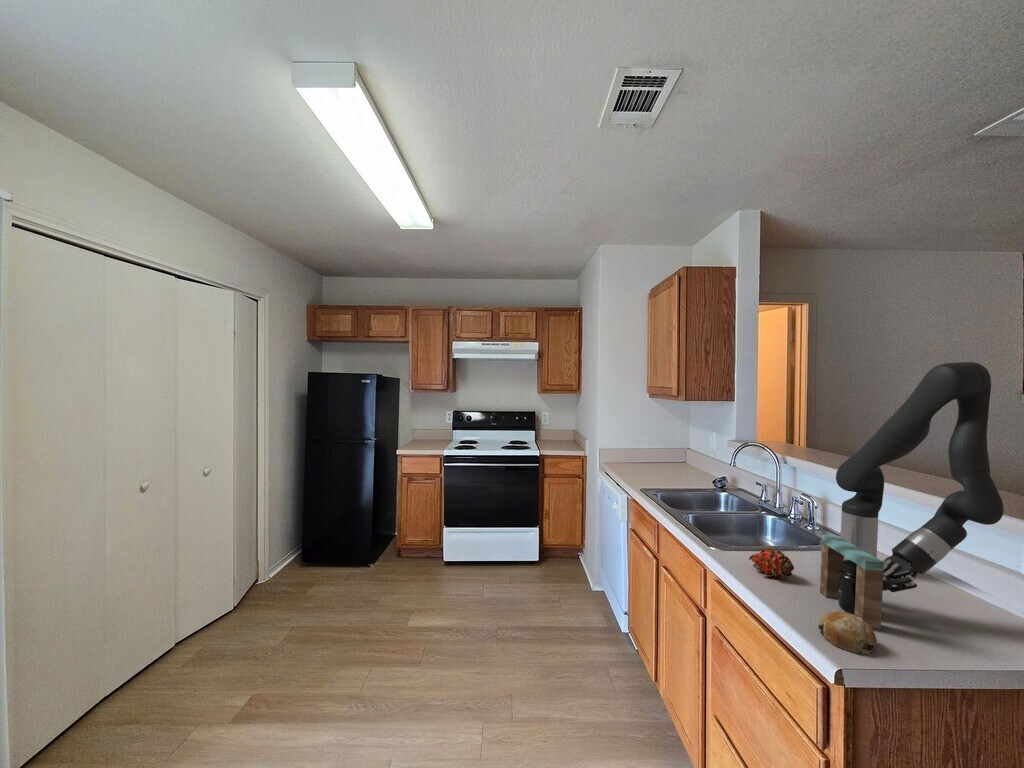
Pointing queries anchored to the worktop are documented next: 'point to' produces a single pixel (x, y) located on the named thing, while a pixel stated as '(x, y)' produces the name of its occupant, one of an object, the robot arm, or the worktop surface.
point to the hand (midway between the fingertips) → (866, 594)
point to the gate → (866, 577)
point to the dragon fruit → (772, 563)
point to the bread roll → (847, 632)
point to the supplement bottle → (847, 586)
